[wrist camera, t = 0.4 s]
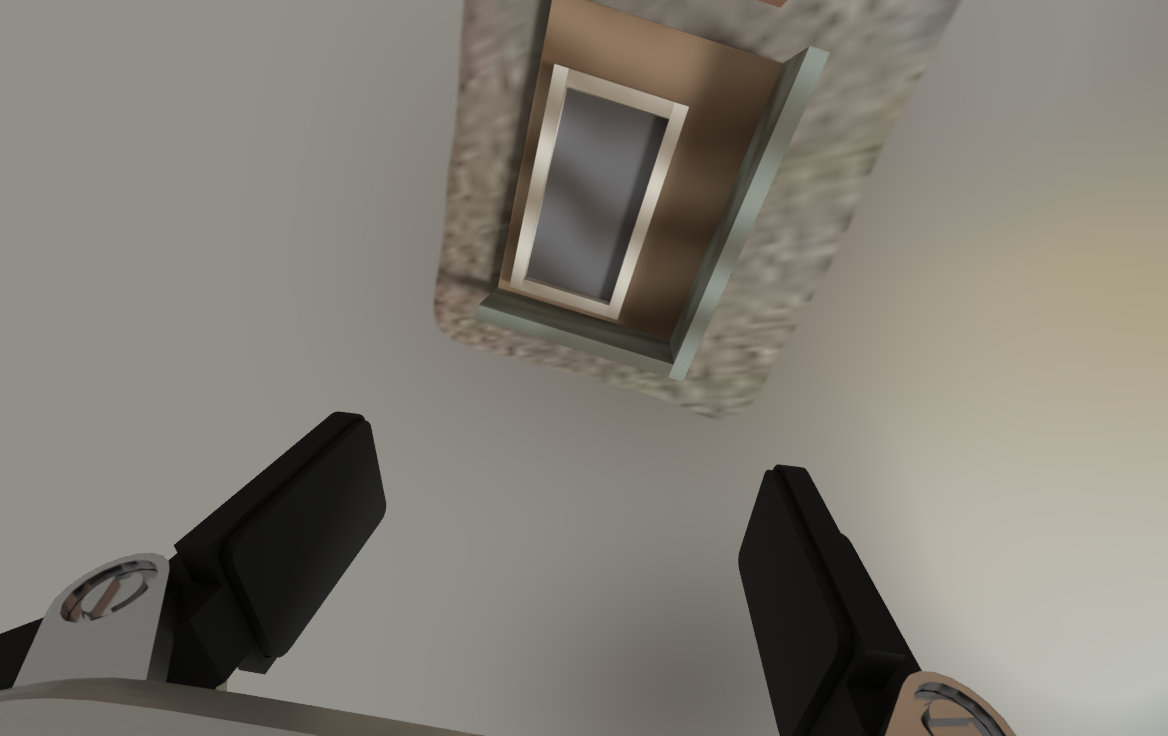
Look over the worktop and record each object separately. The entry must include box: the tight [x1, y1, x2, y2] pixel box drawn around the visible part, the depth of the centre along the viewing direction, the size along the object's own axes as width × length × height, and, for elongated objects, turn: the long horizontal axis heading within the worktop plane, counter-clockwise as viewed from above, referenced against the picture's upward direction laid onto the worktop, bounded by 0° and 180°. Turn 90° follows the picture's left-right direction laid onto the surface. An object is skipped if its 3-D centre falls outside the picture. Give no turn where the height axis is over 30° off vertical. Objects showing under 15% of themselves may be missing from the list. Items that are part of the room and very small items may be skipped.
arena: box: [476, 0, 830, 382], centre depth 31 cm, size 22×17×6 cm
